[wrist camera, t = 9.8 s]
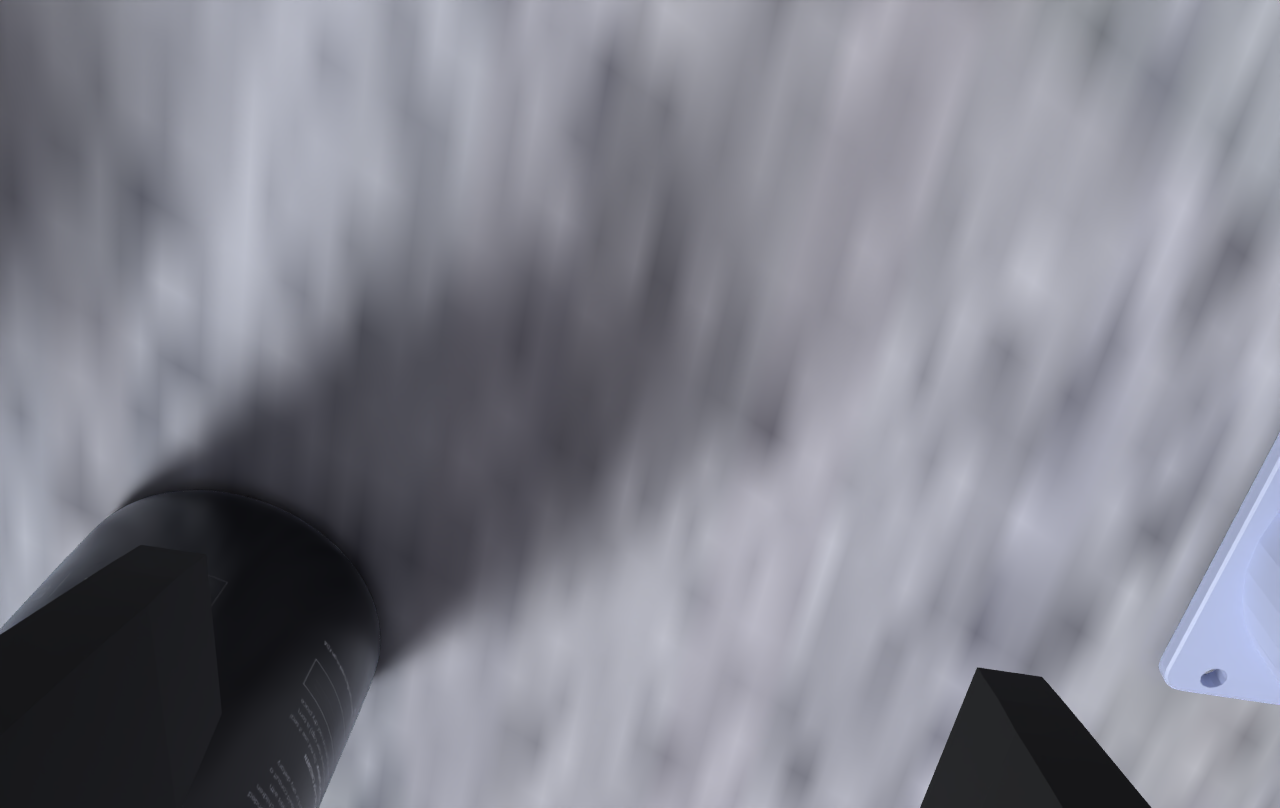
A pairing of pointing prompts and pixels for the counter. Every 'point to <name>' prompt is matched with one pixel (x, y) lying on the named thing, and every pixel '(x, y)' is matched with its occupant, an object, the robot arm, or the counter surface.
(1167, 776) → the counter surface
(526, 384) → the counter surface
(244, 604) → the supplement bottle
